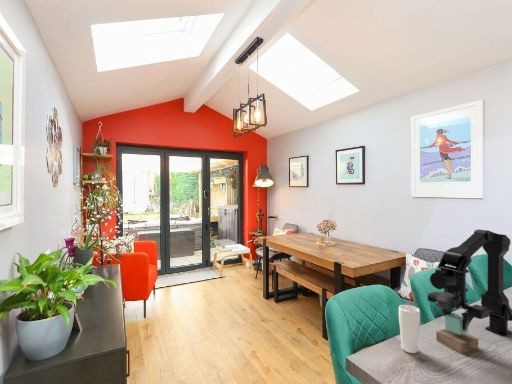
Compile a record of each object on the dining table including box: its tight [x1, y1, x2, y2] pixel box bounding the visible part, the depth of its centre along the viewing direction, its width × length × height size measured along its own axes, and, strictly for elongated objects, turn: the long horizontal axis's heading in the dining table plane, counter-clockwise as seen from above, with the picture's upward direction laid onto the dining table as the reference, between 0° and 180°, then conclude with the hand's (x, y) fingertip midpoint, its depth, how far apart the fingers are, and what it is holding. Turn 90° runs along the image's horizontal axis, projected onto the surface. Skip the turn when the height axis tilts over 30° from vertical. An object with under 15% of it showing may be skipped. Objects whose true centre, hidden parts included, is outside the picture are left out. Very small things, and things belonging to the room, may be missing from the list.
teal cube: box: [444, 312, 469, 335], centre depth 102 cm, size 5×5×5 cm
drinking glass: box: [398, 304, 421, 354], centre depth 99 cm, size 7×7×15 cm
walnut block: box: [435, 328, 479, 355], centre depth 102 cm, size 9×9×4 cm
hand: (456, 327), depth 102 cm, fingers open, 5 cm apart
